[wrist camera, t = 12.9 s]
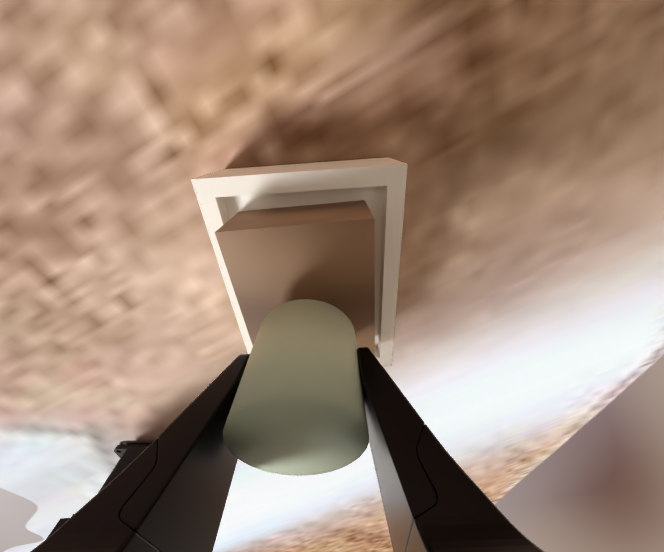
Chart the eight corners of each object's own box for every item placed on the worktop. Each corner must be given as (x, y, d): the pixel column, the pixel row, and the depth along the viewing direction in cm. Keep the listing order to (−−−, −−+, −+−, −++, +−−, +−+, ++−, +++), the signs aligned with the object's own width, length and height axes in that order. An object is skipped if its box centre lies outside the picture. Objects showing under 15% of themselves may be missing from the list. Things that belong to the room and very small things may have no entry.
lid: (367, 340, 16) (374, 379, 13) (276, 346, 16) (266, 386, 14) (364, 199, 12) (374, 218, 9) (239, 211, 12) (214, 232, 9)
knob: (356, 368, 11) (368, 472, 8) (269, 373, 11) (243, 478, 8) (353, 295, 9) (369, 390, 6) (249, 302, 9) (202, 400, 6)
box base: (380, 326, 19) (391, 365, 16) (266, 333, 20) (254, 373, 16) (388, 157, 13) (407, 163, 10) (224, 169, 14) (190, 179, 10)
